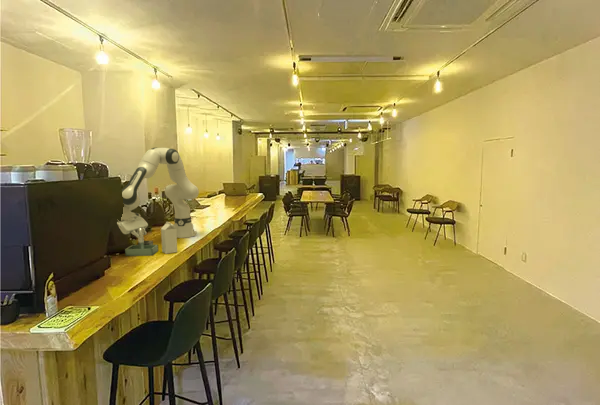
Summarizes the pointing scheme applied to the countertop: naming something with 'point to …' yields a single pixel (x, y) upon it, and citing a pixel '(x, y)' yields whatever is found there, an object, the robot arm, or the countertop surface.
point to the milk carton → (169, 238)
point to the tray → (141, 250)
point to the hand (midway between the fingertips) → (142, 235)
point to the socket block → (147, 243)
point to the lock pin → (140, 238)
